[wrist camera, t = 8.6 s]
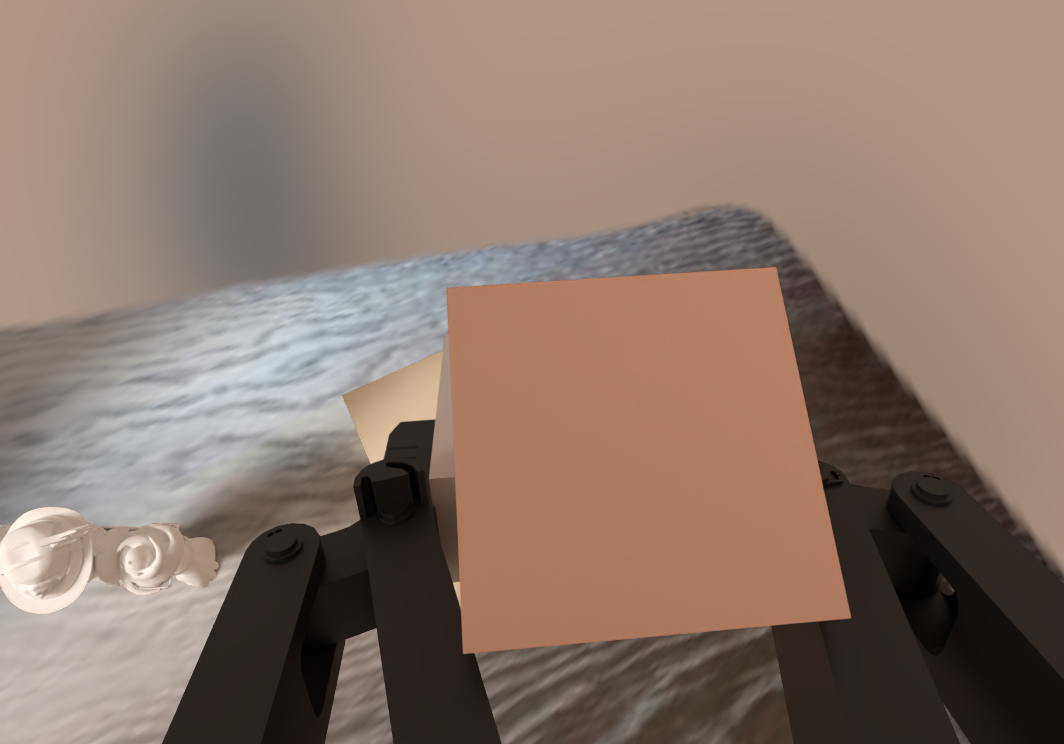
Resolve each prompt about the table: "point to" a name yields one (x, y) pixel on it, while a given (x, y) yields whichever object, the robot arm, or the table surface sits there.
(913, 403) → the table surface
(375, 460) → the beech block
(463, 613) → the tall block
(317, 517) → the table surface
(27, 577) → the white figurine
